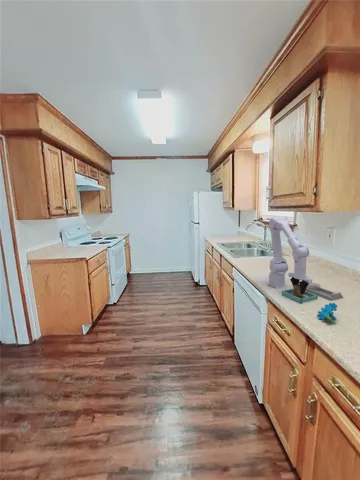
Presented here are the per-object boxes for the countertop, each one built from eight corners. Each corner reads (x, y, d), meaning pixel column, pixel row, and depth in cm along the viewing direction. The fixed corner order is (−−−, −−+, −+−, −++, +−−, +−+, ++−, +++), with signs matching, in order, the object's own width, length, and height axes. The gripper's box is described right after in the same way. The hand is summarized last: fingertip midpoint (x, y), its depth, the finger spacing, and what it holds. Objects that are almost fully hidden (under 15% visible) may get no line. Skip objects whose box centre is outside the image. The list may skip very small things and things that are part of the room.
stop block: (293, 293, 133) (294, 285, 132) (299, 292, 134) (299, 284, 134) (299, 296, 129) (299, 287, 129) (305, 294, 131) (305, 286, 130)
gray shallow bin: (296, 288, 146) (296, 283, 145) (308, 286, 149) (308, 280, 148) (330, 302, 125) (330, 295, 124) (343, 298, 128) (344, 292, 127)
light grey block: (307, 290, 141) (307, 284, 140) (314, 288, 142) (314, 282, 142) (313, 292, 137) (313, 286, 136) (320, 290, 139) (320, 284, 138)
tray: (281, 295, 136) (281, 291, 136) (297, 291, 140) (297, 287, 140) (301, 304, 124) (301, 299, 123) (317, 300, 128) (317, 295, 127)
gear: (315, 308, 114) (334, 298, 109) (325, 318, 113) (344, 307, 108) (315, 322, 105) (335, 311, 100) (326, 332, 104) (347, 321, 99)
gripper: (317, 270, 124) (316, 295, 126) (295, 264, 138) (294, 286, 140) (306, 272, 122) (306, 297, 124) (285, 266, 135) (285, 288, 137)
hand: (299, 292), depth 132 cm, fingers closed on stop block, 4 cm apart
